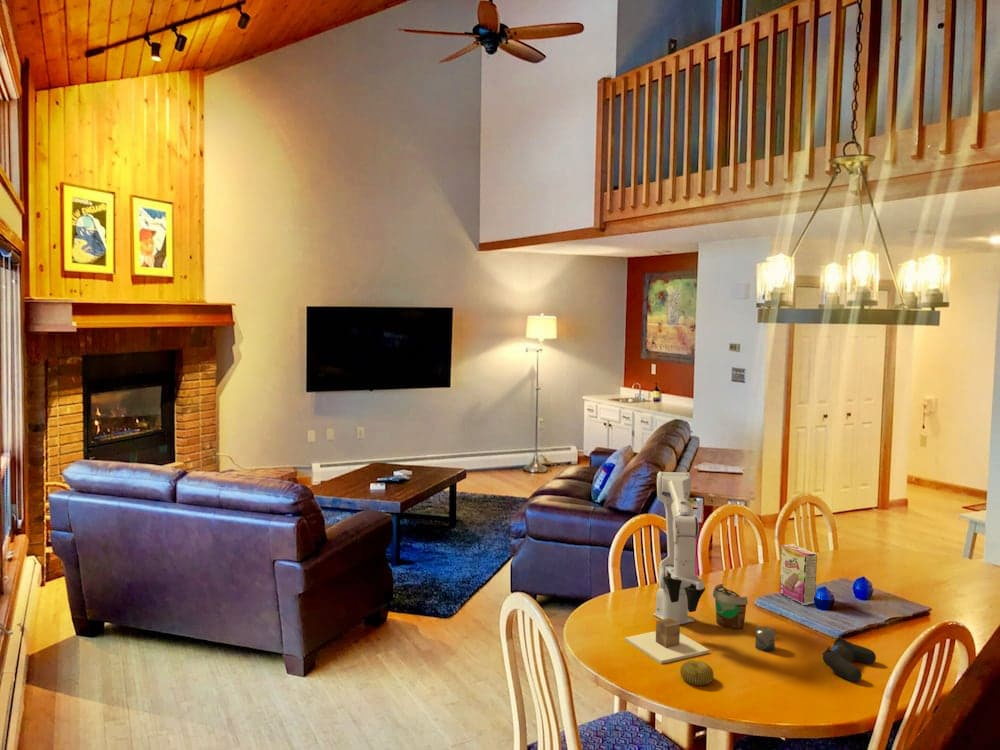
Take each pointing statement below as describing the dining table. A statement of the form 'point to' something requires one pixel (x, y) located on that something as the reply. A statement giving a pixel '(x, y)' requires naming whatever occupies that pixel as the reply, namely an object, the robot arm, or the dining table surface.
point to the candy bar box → (798, 573)
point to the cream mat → (663, 654)
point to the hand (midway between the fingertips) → (683, 606)
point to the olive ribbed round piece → (696, 672)
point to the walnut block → (667, 632)
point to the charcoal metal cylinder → (765, 639)
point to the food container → (729, 608)
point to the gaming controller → (847, 658)
